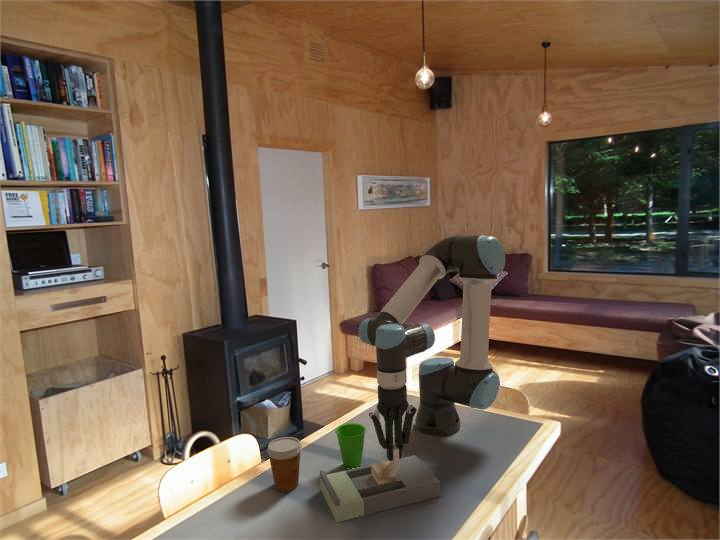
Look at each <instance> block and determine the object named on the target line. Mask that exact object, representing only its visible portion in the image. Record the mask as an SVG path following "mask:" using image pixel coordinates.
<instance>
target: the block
mask: <svg viewBox="0 0 720 540" xmlns="http://www.w3.org/2000/svg"><path fill="white" fill-rule="evenodd" d="M370 465H371V472H372V476H373V478H374V479H375V480H376V482H377V483H378V485H379V484H383V483H387V482H392V481H396V469H395V468H394V467H393V465H392V464H391V463H390V462H389V460H384V461H381V462H375V463H372V464H370Z"/></svg>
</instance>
